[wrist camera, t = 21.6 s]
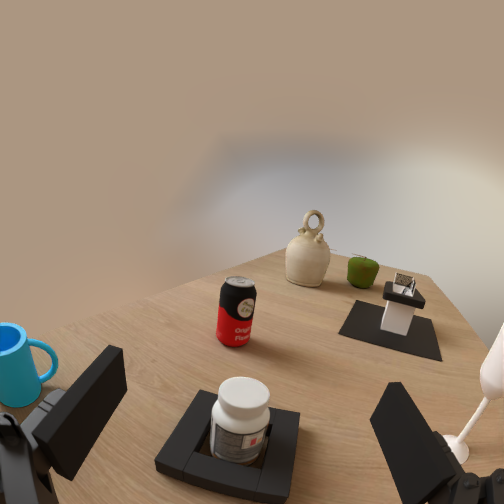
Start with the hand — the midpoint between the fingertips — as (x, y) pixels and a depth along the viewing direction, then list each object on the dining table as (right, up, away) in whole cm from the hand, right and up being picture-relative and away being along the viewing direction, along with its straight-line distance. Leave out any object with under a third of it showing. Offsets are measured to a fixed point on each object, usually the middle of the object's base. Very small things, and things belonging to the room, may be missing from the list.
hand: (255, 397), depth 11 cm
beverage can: (-4, -10, +38) cm, 40 cm away
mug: (-31, -12, +12) cm, 35 cm away
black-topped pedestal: (+37, -13, +52) cm, 65 cm away
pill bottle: (-2, -16, +13) cm, 21 cm away
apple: (+41, -6, +87) cm, 97 cm away
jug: (+18, -4, +84) cm, 86 cm away
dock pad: (-2, -15, +13) cm, 20 cm away
